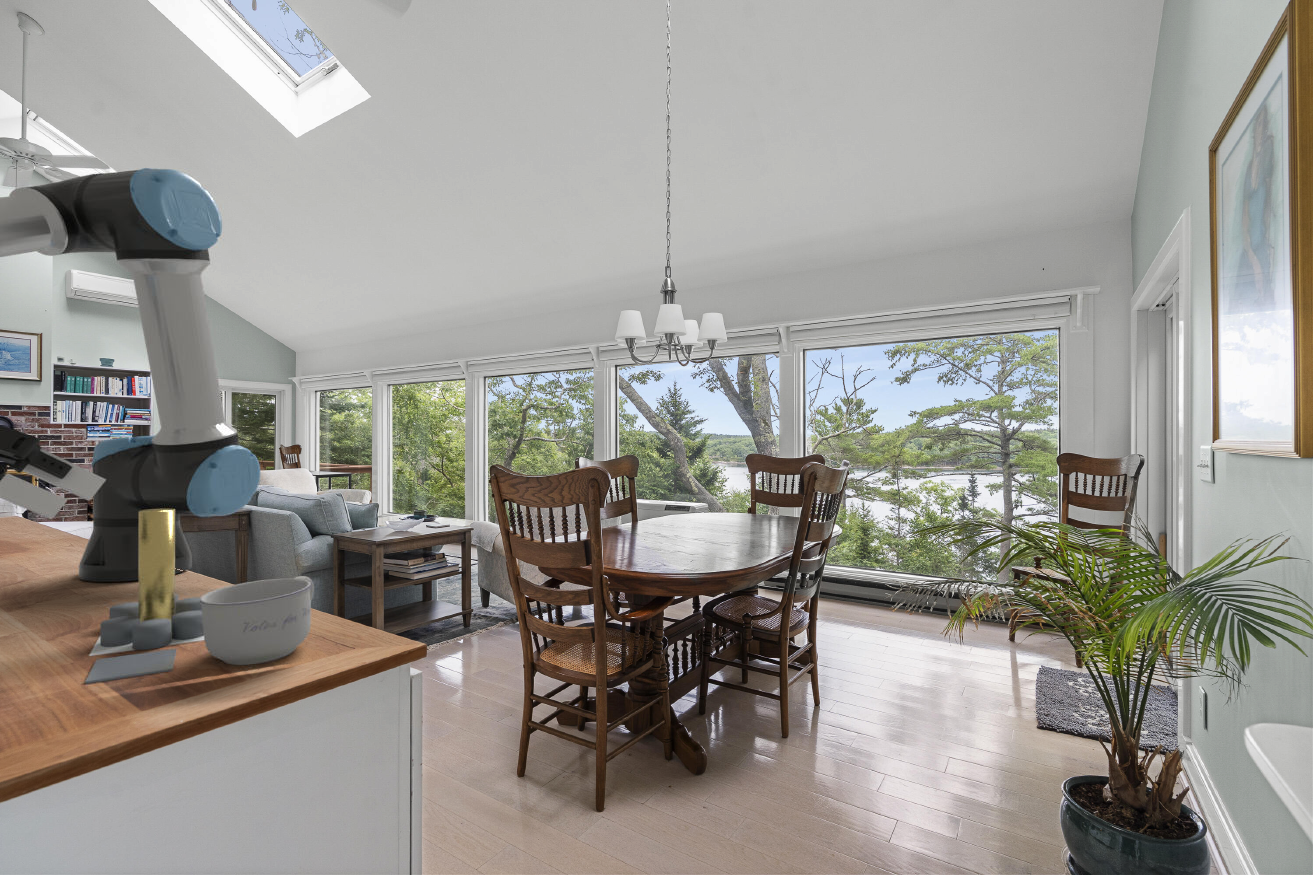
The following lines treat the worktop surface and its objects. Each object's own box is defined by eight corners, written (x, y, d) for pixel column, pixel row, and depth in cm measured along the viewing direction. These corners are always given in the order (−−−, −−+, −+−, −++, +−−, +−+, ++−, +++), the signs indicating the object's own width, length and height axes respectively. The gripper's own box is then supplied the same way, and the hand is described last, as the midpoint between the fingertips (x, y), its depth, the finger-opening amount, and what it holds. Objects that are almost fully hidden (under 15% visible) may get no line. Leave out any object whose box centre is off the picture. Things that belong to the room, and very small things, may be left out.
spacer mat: (110, 620, 86) (110, 598, 86) (211, 608, 92) (211, 588, 92) (87, 661, 72) (87, 635, 72) (208, 644, 78) (208, 620, 78)
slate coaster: (96, 664, 71) (96, 659, 71) (176, 653, 75) (176, 648, 75) (85, 687, 65) (85, 681, 65) (172, 673, 69) (172, 668, 69)
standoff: (140, 628, 82) (140, 509, 81) (175, 624, 84) (176, 507, 83) (136, 636, 79) (137, 513, 78) (173, 632, 81) (174, 511, 80)
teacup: (247, 681, 68) (247, 605, 67) (175, 665, 71) (176, 593, 71) (352, 640, 81) (353, 575, 80) (287, 628, 84) (288, 567, 84)
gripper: (-205, 452, 70) (25, 542, 83) (-176, 391, 56) (93, 510, 69) (-144, 398, 74) (65, 492, 87) (-104, 329, 61) (136, 452, 74)
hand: (78, 500), depth 78 cm, fingers open, 13 cm apart
